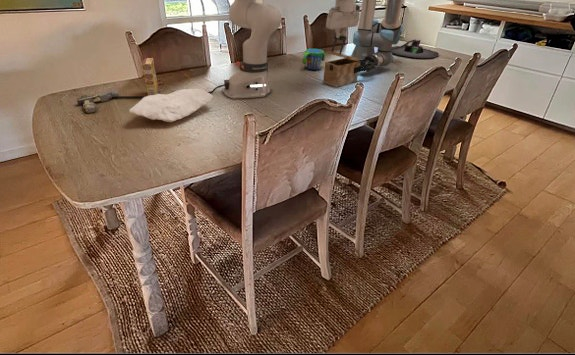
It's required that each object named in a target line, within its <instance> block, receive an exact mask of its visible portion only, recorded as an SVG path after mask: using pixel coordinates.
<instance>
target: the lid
mask: <svg viewBox="0 0 575 355" xmlns="http://www.w3.org/2000/svg"><path fill="white" fill-rule="evenodd" d="M333 36H334V37H333V38H334V40H333V44H332V48H331V50H328V49H326V51H325V52H326V54H330V55H333V56H337V57H340V58H347V59H351V60H355V61H360V59H358V58H354V57H351V56H350V55H347V54H343V53H342V52H343V49H344V46H345V42H346V41H347V36H341V37H340V38H336V34H334V35H333ZM337 40H338V41H342V42H341V46H340V50H339V52H335V51H334V50H335V46H336V43H337Z"/></svg>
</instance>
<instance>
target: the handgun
mask: <svg viewBox="0 0 575 355" xmlns="http://www.w3.org/2000/svg"><path fill="white" fill-rule="evenodd" d="M117 96H120V94H119V92H118V91H117V90H116V89H112V90H108V91H105V92H104V91H103V92H101V93H96V94H94V95H86V94H85V95H84V94H83V95H81V96H80V97H77V98H76V101H77V104H78V105H82V108H83V109H84V110H85V113H87V114H91V113H95V112H96V104H95V103H98V102H106V101H109V100H111V99H113V98H112V97H117Z"/></svg>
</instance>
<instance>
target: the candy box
mask: <svg viewBox="0 0 575 355" xmlns="http://www.w3.org/2000/svg"><path fill="white" fill-rule="evenodd" d="M141 66H142V73H143V78H144V82H145V87H146V92H147V96H150V95H156V94H159V91H160V90H159V84H158V79H157V73H156V66H155V62H154V58H153V57H151V58H150V57H149V58H146V57H145V58H143V60H142V63H141Z"/></svg>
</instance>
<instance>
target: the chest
mask: <svg viewBox="0 0 575 355" xmlns="http://www.w3.org/2000/svg"><path fill="white" fill-rule="evenodd" d="M359 65H360V63H359V61H355V60H351V59H347V58H343V57H341V58H338V59H333V60H329V61H325V62H324V69H323V79H322V82H323V83H324V84H327V85H329V86H332V87H335V88H338V87H342V86H345V85H349V84H352V83H356V82H357V80H358V75H359V74H358V73H359V72H358V73H354V68H356V67H359Z"/></svg>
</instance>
